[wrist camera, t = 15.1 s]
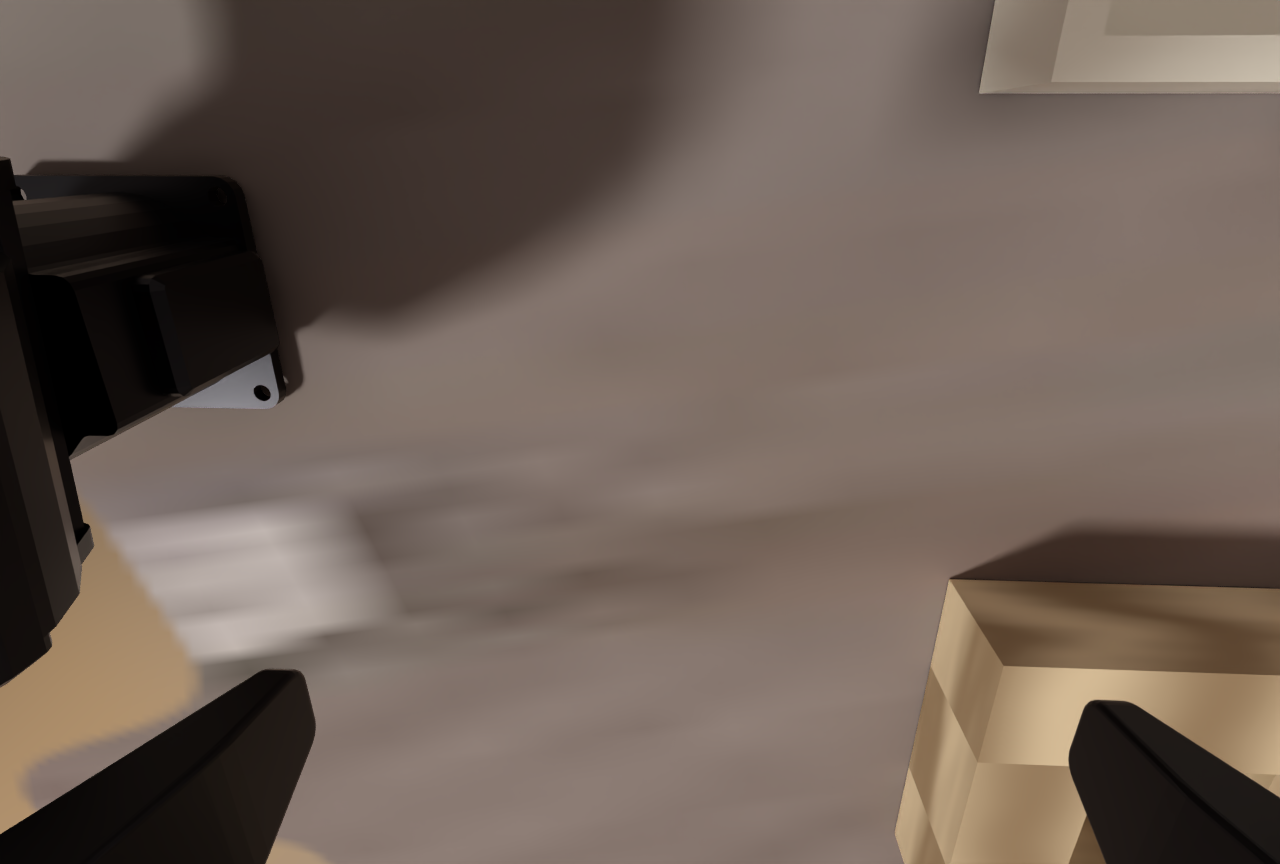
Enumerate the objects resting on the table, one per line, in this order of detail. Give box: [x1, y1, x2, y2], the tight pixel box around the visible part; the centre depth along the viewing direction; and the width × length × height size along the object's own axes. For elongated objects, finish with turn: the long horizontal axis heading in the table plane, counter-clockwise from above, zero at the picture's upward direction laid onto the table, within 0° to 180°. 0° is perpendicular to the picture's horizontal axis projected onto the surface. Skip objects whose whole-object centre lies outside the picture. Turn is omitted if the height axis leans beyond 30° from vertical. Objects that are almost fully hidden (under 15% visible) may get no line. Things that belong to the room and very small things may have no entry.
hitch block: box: [895, 579, 1280, 864], centre depth 22 cm, size 12×12×4 cm
